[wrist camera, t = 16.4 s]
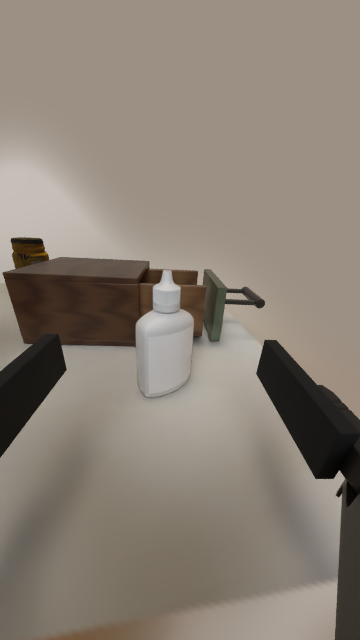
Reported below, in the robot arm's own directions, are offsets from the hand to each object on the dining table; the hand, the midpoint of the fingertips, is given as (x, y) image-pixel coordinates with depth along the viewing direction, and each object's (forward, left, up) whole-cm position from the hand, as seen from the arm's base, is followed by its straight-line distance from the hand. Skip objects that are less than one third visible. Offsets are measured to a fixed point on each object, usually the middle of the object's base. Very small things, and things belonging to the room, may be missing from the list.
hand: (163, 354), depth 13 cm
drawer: (+4, +20, -7) cm, 21 cm away
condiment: (-28, +32, -8) cm, 43 cm away
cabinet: (-12, +20, -8) cm, 24 cm away
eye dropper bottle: (0, +6, -8) cm, 10 cm away
